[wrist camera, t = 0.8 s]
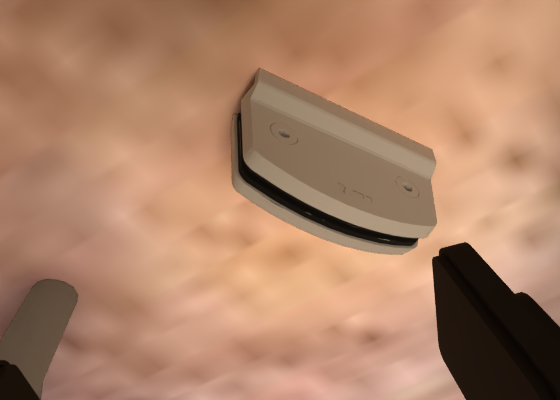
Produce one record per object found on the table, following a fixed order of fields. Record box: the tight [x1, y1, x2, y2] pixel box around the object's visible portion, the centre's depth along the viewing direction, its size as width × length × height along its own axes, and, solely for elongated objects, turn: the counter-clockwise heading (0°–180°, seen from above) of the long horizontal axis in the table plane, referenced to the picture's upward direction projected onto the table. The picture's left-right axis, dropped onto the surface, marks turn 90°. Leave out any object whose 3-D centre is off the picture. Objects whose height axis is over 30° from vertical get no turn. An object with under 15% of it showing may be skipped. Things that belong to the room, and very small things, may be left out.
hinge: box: [231, 68, 437, 255], centre depth 34 cm, size 17×5×10 cm, turn 64°
